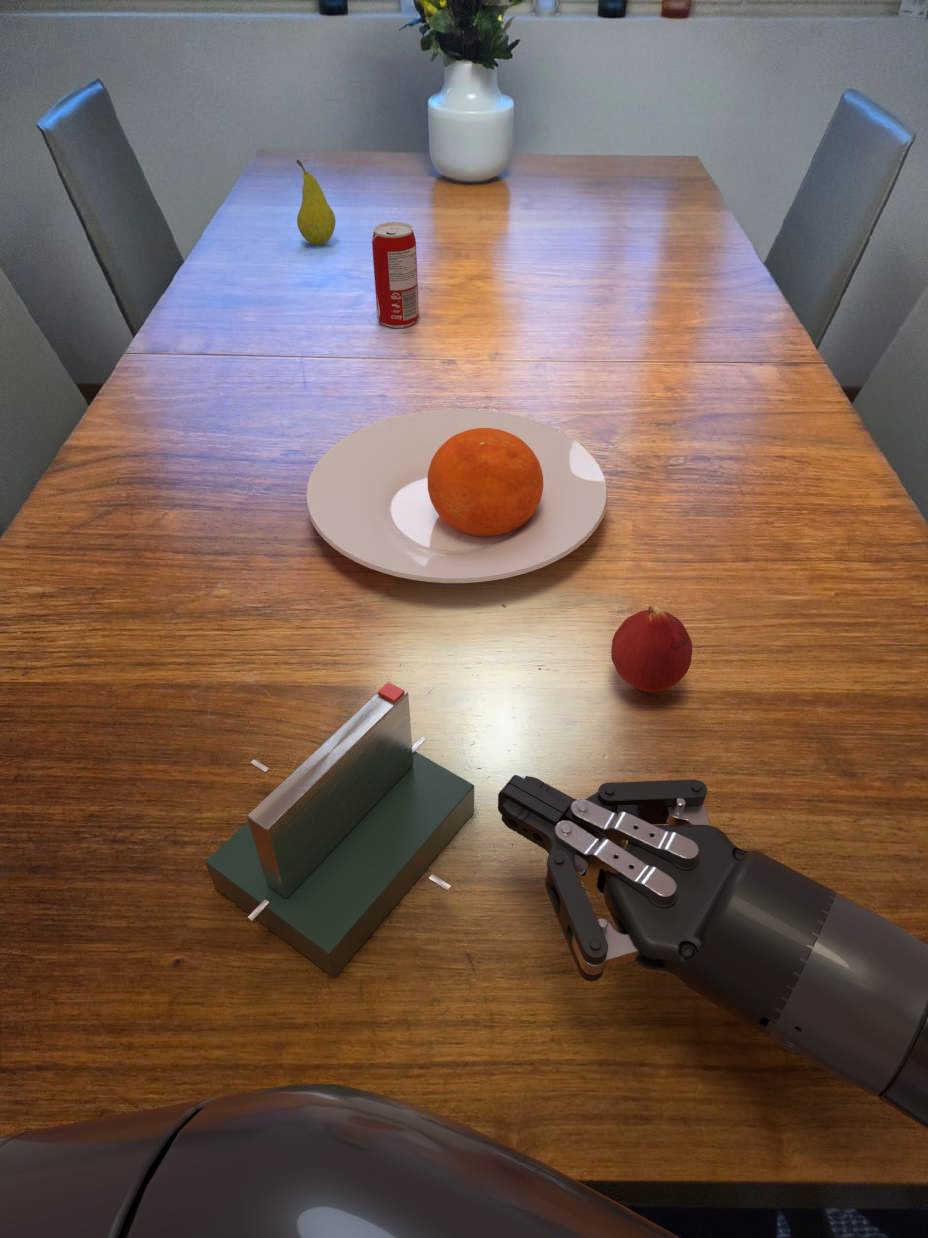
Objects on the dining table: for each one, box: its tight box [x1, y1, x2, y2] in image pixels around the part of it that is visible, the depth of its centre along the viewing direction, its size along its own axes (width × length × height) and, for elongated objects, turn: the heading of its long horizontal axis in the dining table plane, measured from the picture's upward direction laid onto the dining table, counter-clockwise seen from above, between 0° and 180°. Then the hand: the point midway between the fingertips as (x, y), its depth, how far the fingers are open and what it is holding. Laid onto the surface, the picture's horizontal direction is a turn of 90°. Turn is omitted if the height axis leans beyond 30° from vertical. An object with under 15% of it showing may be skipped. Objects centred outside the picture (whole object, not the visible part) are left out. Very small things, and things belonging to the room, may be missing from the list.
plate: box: [305, 408, 608, 584], centre depth 81 cm, size 28×28×9 cm
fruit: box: [296, 159, 336, 246], centre depth 133 cm, size 6×6×12 cm
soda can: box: [371, 221, 420, 329], centre depth 112 cm, size 6×6×12 cm
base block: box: [205, 736, 475, 979], centre depth 55 cm, size 16×16×3 cm
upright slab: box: [246, 681, 413, 898], centre depth 52 cm, size 12×2×7 cm, turn 144°
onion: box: [610, 605, 693, 693], centre depth 64 cm, size 6×6×8 cm
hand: (505, 793), depth 49 cm, fingers closed
